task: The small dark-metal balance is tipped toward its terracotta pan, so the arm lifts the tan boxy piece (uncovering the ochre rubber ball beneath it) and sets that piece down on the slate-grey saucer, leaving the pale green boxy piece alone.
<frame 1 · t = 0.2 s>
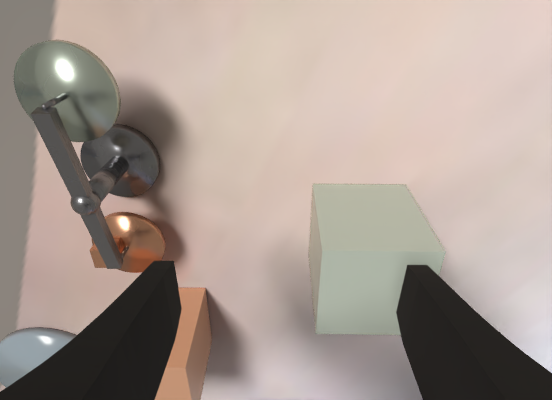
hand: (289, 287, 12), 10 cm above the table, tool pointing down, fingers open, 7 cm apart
balance: (123, 159, 21), on the table
pale green boxy piece: (354, 222, 22), on the table
saucer: (57, 366, 30), on the table
tan boxy piece: (172, 314, 27), on the table
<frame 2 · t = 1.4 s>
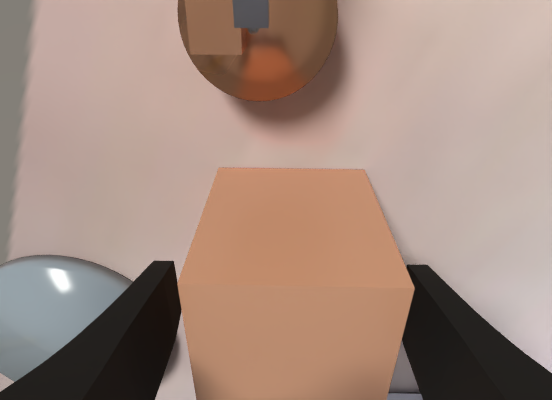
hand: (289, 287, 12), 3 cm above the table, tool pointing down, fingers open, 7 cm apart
saucer: (76, 329, 18), on the table
tan boxy piece: (289, 228, 15), on the table
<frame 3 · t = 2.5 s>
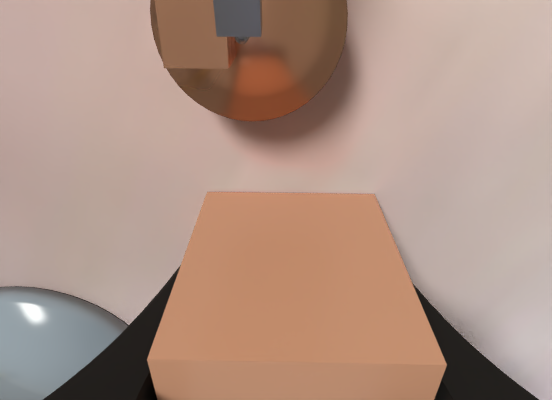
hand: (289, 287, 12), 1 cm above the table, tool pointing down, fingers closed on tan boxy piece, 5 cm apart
saucer: (52, 364, 16), on the table
tan boxy piece: (288, 258, 13), on the table, touching gripper
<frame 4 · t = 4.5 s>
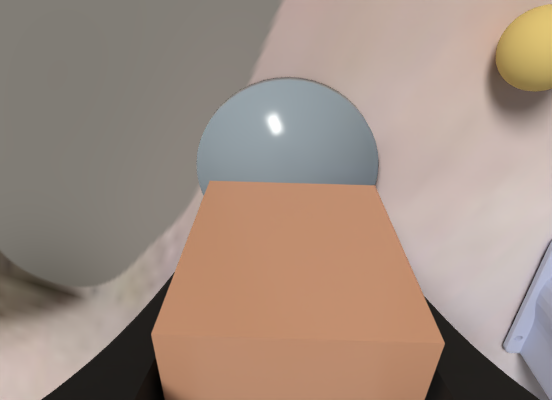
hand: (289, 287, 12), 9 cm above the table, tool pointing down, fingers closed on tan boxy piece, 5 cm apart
saucer: (286, 166, 19), on the table
ball: (542, 49, 15), on the table
tan boxy piece: (288, 249, 13), point 7 cm above the table, touching gripper
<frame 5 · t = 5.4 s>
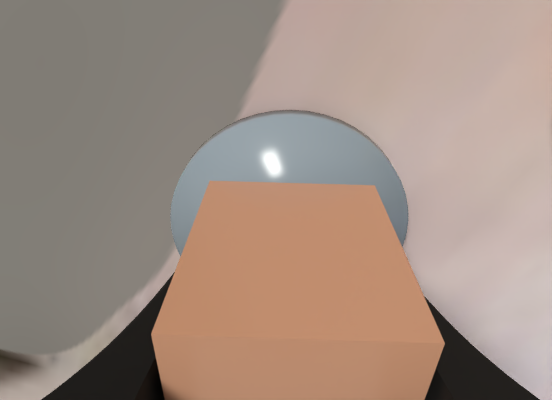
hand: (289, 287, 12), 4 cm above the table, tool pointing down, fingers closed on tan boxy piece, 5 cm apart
saucer: (288, 220, 15), on the table
tan boxy piece: (288, 249, 13), point 2 cm above the table, touching gripper
when the fingers open (4 cm above the table, at t = 6.3 s): tan boxy piece drops 1 cm, resting on saucer.
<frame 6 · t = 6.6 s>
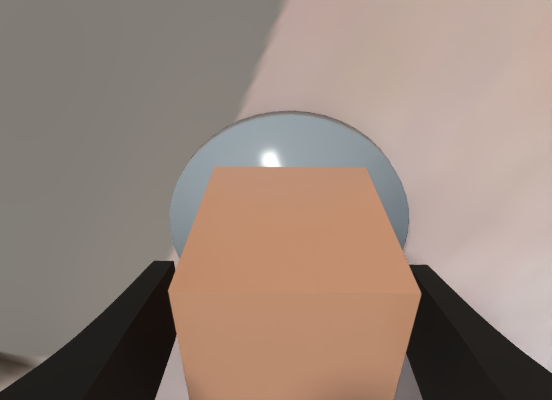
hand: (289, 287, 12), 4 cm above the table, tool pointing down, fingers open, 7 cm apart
saucer: (288, 221, 15), on the table
tan boxy piece: (288, 229, 14), point 1 cm above the table, touching saucer
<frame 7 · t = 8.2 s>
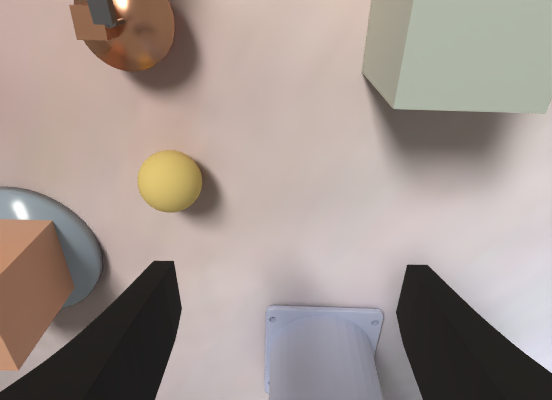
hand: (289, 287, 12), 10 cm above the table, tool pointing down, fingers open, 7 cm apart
pale green boxy piece: (428, 13, 17), on the table
saucer: (30, 249, 24), on the table
ball: (170, 181, 19), on the table
tan boxy piece: (22, 254, 23), point 1 cm above the table, touching saucer
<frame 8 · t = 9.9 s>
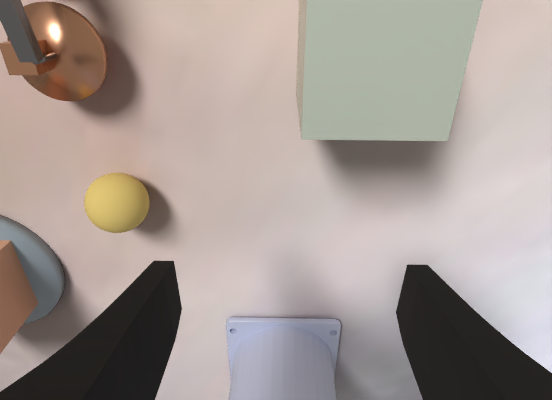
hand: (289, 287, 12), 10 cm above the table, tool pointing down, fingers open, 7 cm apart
pale green boxy piece: (354, 38, 17), on the table
ball: (117, 202, 20), on the table
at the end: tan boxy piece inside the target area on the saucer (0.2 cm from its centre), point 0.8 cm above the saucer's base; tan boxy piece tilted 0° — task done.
